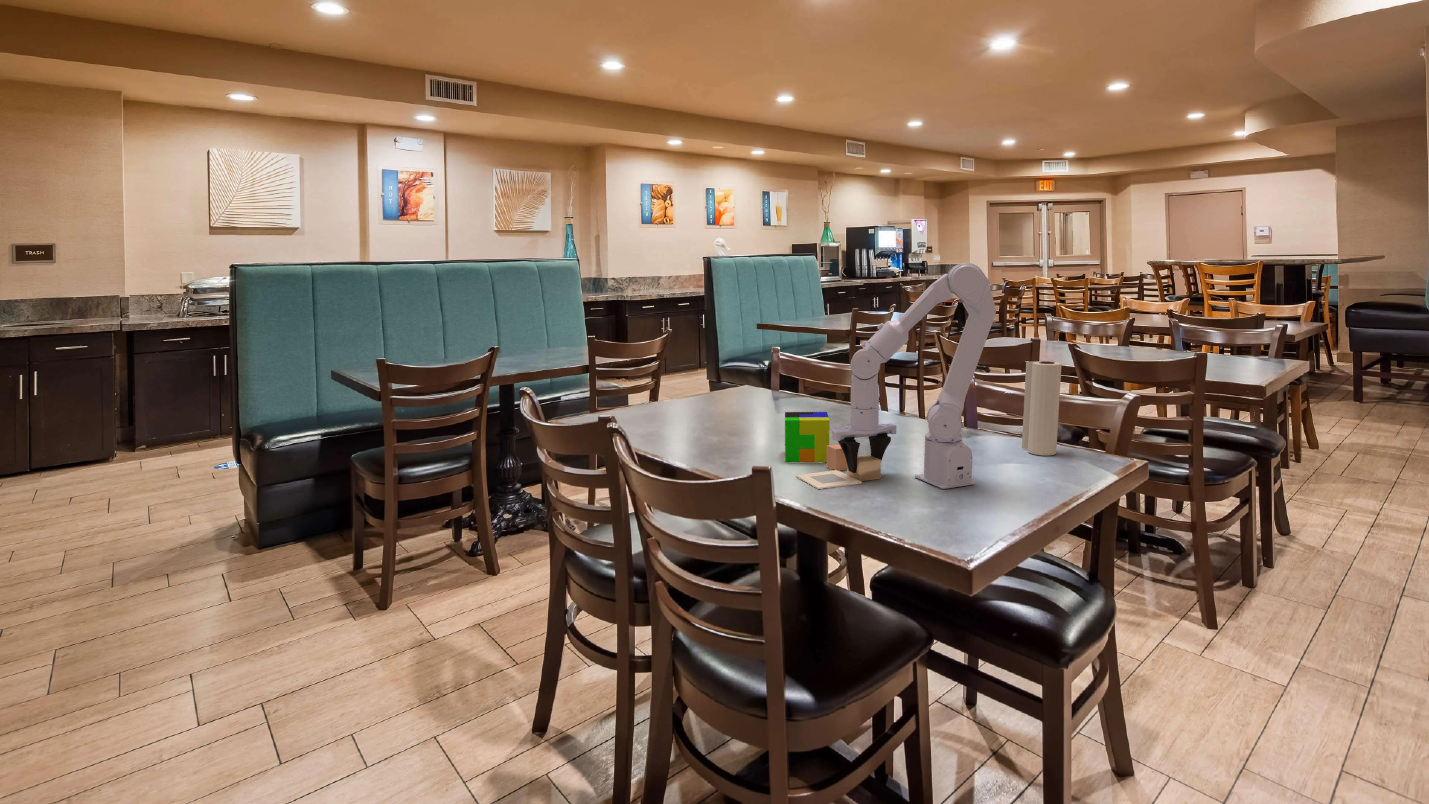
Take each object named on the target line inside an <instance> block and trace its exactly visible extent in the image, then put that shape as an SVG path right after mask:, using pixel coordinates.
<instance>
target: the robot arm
mask: <svg viewBox="0 0 1429 804" xmlns="http://www.w3.org/2000/svg"><path fill="white" fill-rule="evenodd" d="M925 289H926V290H924V291H923V292H922V293H921V295H920V296H919V297H917V298H916V300H915V301H914V302H913V303H912V304H910V306H909V308H907V310H906V311H905V312H904V313H902V315H901V316H900V317H899V318H898V319H897V320H887V321H886V322H885V323H882V322H881V323H880V324H879V325H878V326H877V331H876V332H875V333H874V334H873V335H872V336H871V337H870V338H869V339H868V340H867V341H863V342H862V343H861V344H860V346H861V347H862V349H859V350H857V351H856V352H855V353H854V354H853V356H852V358H851V359H850V370H851V372H852V374H851V378H850V379H851V384H850V426H847V427H843V428H842V427H841V428H837V429H832V430H831V440H833V441H835V442H837V444H840V446H841V448H842V450H843V452H844V455H845V458H846V461H847V465H848V470H849V471H850V472H852V473H856V471H857V456H859V449H860V446H861V443H860V442H859V441H857V439H858V438H866V437H868V441H869V447H870V456H873V457H875V458H878V459H880V460H881V462H882V461H883V457H884V456H885V455H884V454H885V452H886V450H887V448H888V446H889V444H891V442H892V436H890V435H896V434H897V425H896V424H895V423H881V424H880V423H879V419H880V418H879V416H880V415H879V413H880V411H879V410H880V409H879V407H880V402H879V401H880V400H879V399H880V384H879V382H878V378H879V371H880V369H881V364H883V363H887V362H888V361H890V359H892V357H893V356H895V354H896V353H897V352H899V350H900V349H902V347H903V346H904V345H905V344H906V343H908V341H909V331H911V329H912V328H913V327H914V326H916V324H918V323H919V322H920V321H921V320H922V319H923V318H924V317H925V316H926V315H927V314H928V313H929V312H930V311H932V310H933V308H935V307H936V306H937V305H938V304H940V303H943V302H946V301H951V300H953V299H954V296H953V294H954V295H955V296H956V297H957V298H958V299H959V300H961V303H962V305H963V307H964V308H965V310H966V312H967V314H968V316H967V319H966V321H965V325H964V328H963V330H962V333H961V335H960V338H959V340H958V341H959V342H958V344H957V346H956V349H955V353H954V355H953V358H952V361H951V364H950V365H949V369H948V372H947V375H946V377H945V380H944V383H943V385H942V389H941V391H940V393H938V397H937V399H936V401H935V403H934V404H933V405H931V407H929V409H928V411H927V414H926V421H927V423H928V425H927V427H928V430H929V431H928V432H927V433H926V434H925V435H924V455H923V456H924V459H923V460H924V461H923V462H924V463H923V464H924V465H923V473H921V474H920V473H919V474H915V475H914V478H915V479H918V480H920V481H923V482H925V483H928V484H930V485H932V486H934V487H938V488H939V489H942V490H944V489H951V488H957V487H958V488H960V487H964V486H971V485H976V483H975V482H976V481H974V480H972V478H973V477H972V476H973V453H972V449H971V448H970V447H969V446H968V445H966V444H965V443H964V441H963V436H962V435H961V431H962V429H963V428H962V427H963V424H962V414H963V411H964V407H965V400H966V396H967V393H968V391H969V388H970V385H971V382H972V381H973V377H974V375H975V371H976V370H977V368H978V367H977V366H978V363H979V361H980V359H981V355H982V352H983V350H984V347H985V344H986V342H987V340H988V336H989V333H990V331H991V328H992V326H993V322H994V321H995V320H994V319H995V317H996V314H997V313H996V312H997V309H996V308H997V307H996V304H995V299H994V297H993V294H992V293H993V292H992V290H991V285H990V281H989V278H988V277H987V276H986V274H985V273H984V272H983V270H982V269H981V268H980V267H979V266H978V264H977V265H976V264H975V263H971V262H963V263H958V264H955V265H954V266H952V267H951V268H950V269H949V270H948V272H947V273H944V274H943V275H942V276H940V277H939V278H938V279H937V280H935V281H934V282H932V283H931V284H930V285H929V286H928V287H927V288H925Z"/></svg>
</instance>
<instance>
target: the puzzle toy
mask: <svg viewBox="0 0 1429 804" xmlns="http://www.w3.org/2000/svg"><path fill="white" fill-rule="evenodd" d="M827 445H830V418H829V414H828V411H785V412H784V452H785V453H784V463H785V462H827Z"/></svg>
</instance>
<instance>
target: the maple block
mask: <svg viewBox="0 0 1429 804" xmlns="http://www.w3.org/2000/svg"><path fill="white" fill-rule="evenodd" d="M881 469H882V461H881V460H880V459H878V458H875V457H873V456H871V454H862V455H858V456H857V471H856V473H852V472H850V471H849V470H848V465H847V470H846V472H847V474H846V475H848V476H851V477H853V478H855V479H857V480H859V481H861V482H864V481H871V480H878V479H881V477H882V476H881V475H882V471H881Z"/></svg>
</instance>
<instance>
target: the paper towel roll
mask: <svg viewBox="0 0 1429 804" xmlns="http://www.w3.org/2000/svg"><path fill="white" fill-rule="evenodd" d="M1025 363H1026V364H1025V378H1024V379H1025V381H1024V382H1025V383H1024V398H1023V399H1024V400H1023V416H1022V436H1021V437H1022V438H1021V449H1024V450H1027V452H1028V453H1029V454H1031V455H1035V456H1054V455H1056V454H1057V446H1058V444H1057V443H1058V428H1059V411H1060V396H1061V394H1060V392H1061V380H1062V377H1061V376H1062V366H1063V365H1062V364H1063V363H1061V362H1058V361H1057V362H1055V361H1046V360H1045V361H1044V360H1042V361H1037V360H1036V361H1035V360H1034V361H1032V360H1031V361H1029V360H1028V361H1025Z"/></svg>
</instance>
